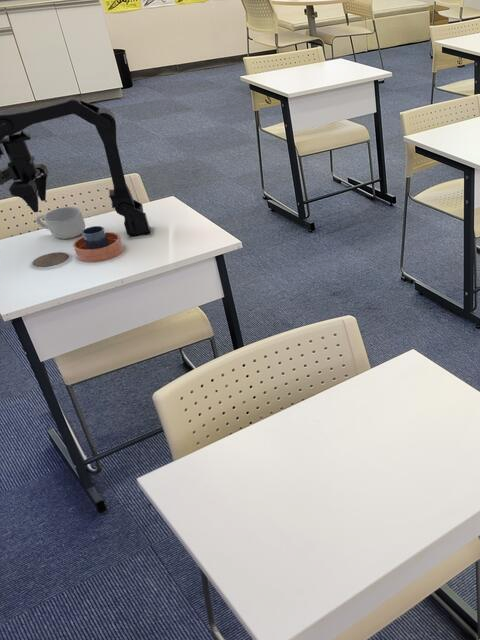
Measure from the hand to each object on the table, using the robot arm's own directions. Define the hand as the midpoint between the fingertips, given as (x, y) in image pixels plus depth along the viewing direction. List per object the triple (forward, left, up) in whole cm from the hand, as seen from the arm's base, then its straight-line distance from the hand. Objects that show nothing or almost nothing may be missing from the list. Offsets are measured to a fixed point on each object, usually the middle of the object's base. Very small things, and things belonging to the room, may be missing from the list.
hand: (39, 206), depth 212 cm
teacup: (-2, -9, -14) cm, 17 cm away
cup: (-14, +10, -14) cm, 22 cm away
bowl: (-14, +10, -14) cm, 22 cm away
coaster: (0, +10, -14) cm, 17 cm away
